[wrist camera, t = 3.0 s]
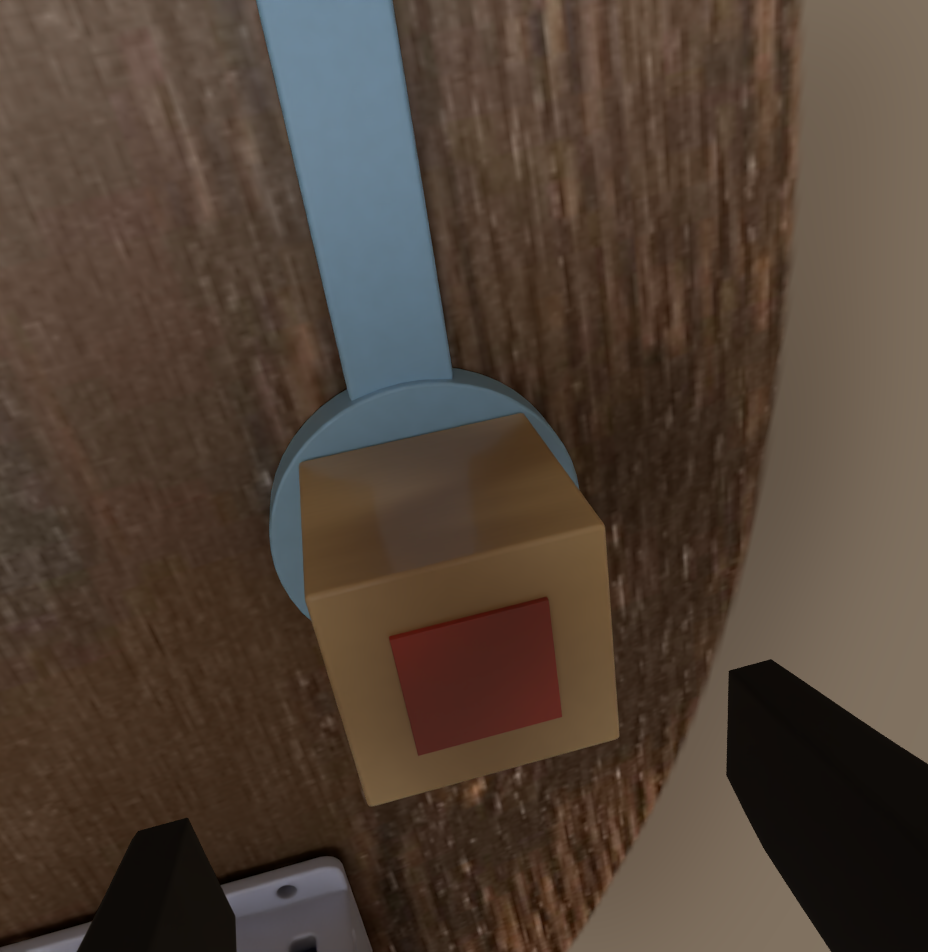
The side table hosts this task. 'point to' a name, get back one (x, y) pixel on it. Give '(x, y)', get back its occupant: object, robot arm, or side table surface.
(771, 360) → the side table surface
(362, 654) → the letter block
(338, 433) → the spoon
